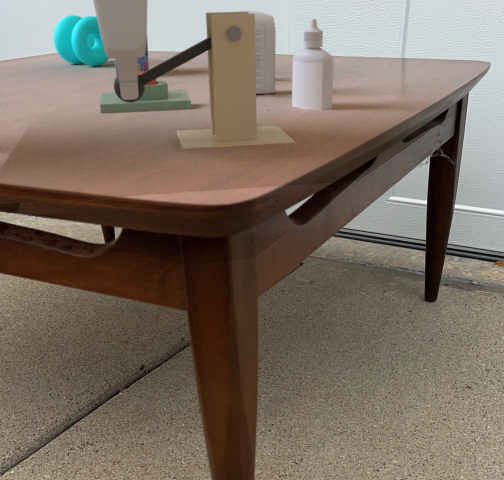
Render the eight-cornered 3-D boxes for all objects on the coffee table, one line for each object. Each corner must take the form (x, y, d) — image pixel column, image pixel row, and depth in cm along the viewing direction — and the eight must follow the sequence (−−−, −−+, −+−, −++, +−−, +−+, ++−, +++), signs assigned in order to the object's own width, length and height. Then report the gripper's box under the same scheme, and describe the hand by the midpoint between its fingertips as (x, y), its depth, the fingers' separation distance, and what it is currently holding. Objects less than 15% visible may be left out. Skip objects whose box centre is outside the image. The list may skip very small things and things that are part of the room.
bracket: (183, 159, 72) (174, 17, 66) (177, 141, 80) (168, 12, 74) (295, 152, 74) (296, 13, 68) (278, 135, 82) (277, 9, 76)
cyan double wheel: (93, 61, 157) (87, 13, 153) (118, 64, 151) (114, 14, 146) (54, 65, 151) (47, 16, 146) (79, 68, 144) (73, 17, 140)
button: (130, 88, 94) (129, 75, 93) (130, 84, 97) (129, 71, 96) (157, 87, 94) (156, 74, 93) (156, 83, 97) (155, 70, 97)
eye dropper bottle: (304, 119, 90) (305, 21, 85) (289, 112, 95) (289, 18, 90) (335, 117, 91) (338, 19, 86) (318, 110, 96) (320, 17, 91)
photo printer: (271, 90, 113) (270, 8, 108) (279, 94, 109) (278, 10, 104) (210, 94, 111) (206, 11, 105) (215, 98, 107) (212, 12, 102)
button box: (101, 121, 92) (98, 90, 90) (103, 108, 101) (100, 80, 99) (191, 116, 93) (189, 86, 92) (185, 104, 102) (183, 76, 101)
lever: (124, 110, 72) (107, 82, 70) (123, 105, 75) (108, 77, 73) (251, 41, 71) (237, 11, 70) (246, 38, 74) (233, 9, 72)
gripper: (88, -48, 76) (102, 82, 81) (77, -56, 57) (96, 113, 63) (146, -49, 76) (155, 80, 82) (153, -57, 58) (165, 110, 64)
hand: (129, 95), depth 73 cm, fingers closed on lever, 3 cm apart
